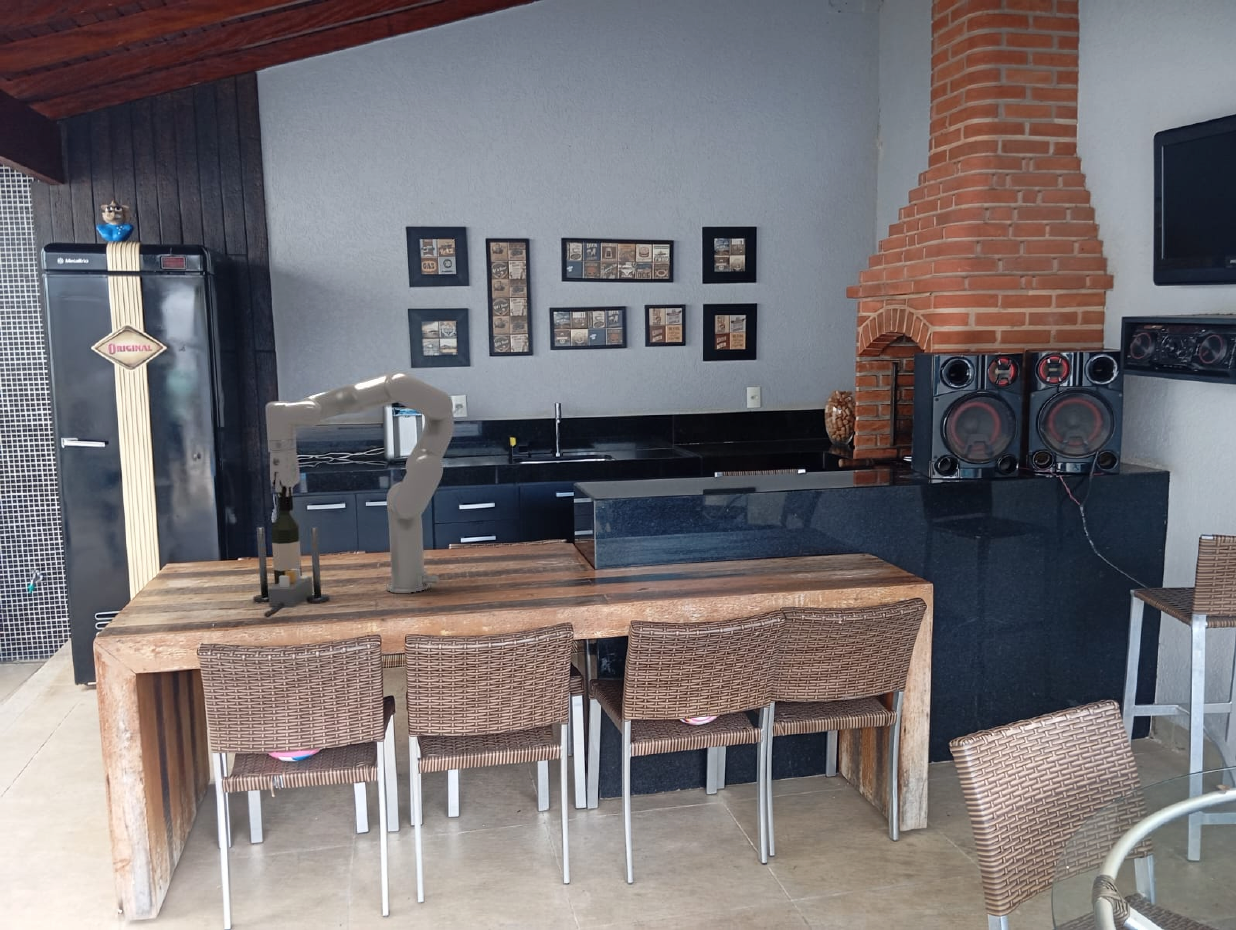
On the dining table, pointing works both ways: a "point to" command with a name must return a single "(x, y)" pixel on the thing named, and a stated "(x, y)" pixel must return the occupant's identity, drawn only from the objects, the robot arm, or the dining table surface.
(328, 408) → the robot arm
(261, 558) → the post
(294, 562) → the wine bottle
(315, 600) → the post
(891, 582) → the dining table surface
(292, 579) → the breaker paddle
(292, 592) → the grey power strip
